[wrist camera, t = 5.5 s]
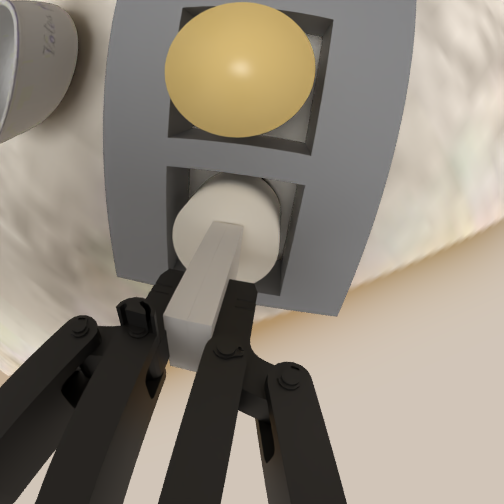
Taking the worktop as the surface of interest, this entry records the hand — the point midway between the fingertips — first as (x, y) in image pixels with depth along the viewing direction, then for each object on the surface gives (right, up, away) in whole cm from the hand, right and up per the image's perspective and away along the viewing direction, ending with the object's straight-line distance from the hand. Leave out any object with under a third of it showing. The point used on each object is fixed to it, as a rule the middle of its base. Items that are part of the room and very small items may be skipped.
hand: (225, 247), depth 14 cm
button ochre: (+1, +8, -2) cm, 9 cm away
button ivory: (0, +2, +4) cm, 4 cm away
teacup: (-16, +16, -1) cm, 22 cm away
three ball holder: (+1, +10, 0) cm, 10 cm away
